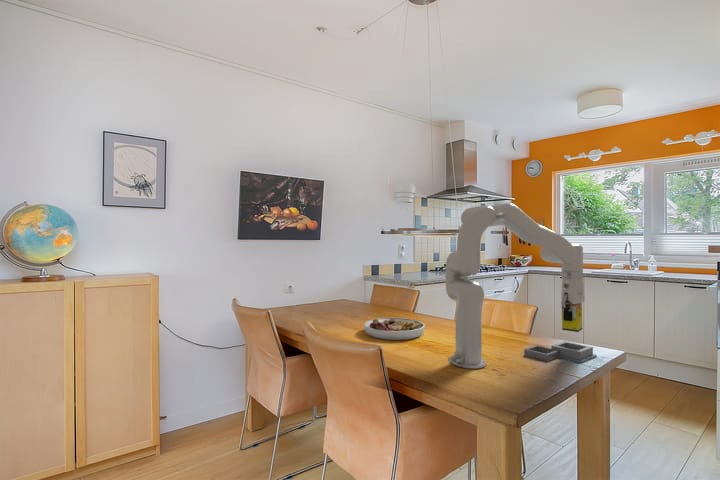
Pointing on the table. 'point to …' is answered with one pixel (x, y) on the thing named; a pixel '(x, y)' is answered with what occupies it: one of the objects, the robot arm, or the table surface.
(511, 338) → the table surface
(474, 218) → the robot arm
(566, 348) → the block
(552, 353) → the grey square tray
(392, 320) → the bowl
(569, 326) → the supplement box
